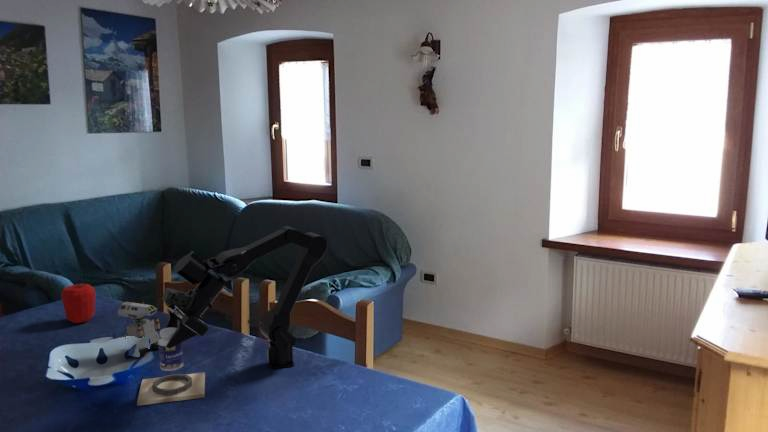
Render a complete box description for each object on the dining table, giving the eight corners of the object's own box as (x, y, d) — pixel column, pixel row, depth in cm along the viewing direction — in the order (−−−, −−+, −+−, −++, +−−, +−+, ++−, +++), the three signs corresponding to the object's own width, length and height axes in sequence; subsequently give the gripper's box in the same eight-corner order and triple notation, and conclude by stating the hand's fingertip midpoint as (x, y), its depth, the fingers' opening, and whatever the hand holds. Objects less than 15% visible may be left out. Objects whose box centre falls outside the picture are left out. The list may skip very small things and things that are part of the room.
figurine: (138, 342, 194) (134, 296, 191) (165, 349, 189) (161, 302, 186) (113, 353, 186) (109, 305, 183) (141, 360, 181) (137, 311, 178)
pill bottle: (168, 373, 157) (165, 336, 155) (155, 367, 160) (152, 331, 159) (188, 366, 161) (185, 329, 159) (175, 360, 165) (172, 324, 163)
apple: (88, 326, 207) (84, 287, 205) (58, 326, 208) (53, 287, 205) (103, 315, 218) (99, 278, 215) (73, 315, 218) (70, 278, 215)
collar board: (205, 375, 171) (204, 368, 170) (204, 397, 158) (204, 389, 158) (142, 382, 167) (142, 375, 166) (137, 405, 154) (136, 397, 154)
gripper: (170, 268, 166) (131, 316, 162) (191, 285, 151) (148, 339, 147) (202, 291, 172) (164, 338, 168) (225, 310, 157) (184, 362, 153)
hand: (164, 343), depth 159 cm, fingers closed on pill bottle, 6 cm apart
